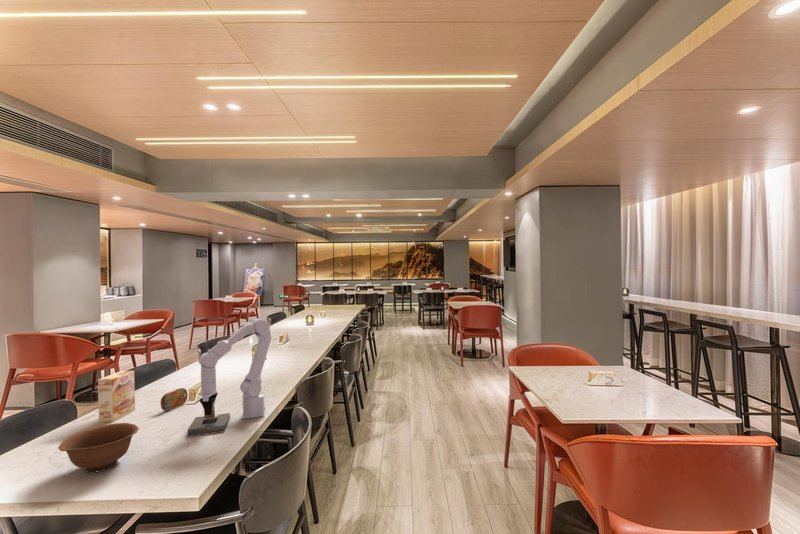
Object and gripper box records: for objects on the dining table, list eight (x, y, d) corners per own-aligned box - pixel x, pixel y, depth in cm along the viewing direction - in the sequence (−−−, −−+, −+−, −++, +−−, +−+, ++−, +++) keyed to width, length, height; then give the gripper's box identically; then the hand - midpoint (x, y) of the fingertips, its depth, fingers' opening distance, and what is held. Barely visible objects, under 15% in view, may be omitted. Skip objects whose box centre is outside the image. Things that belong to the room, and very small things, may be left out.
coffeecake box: (113, 422, 174) (112, 378, 174) (97, 422, 174) (96, 379, 174) (136, 409, 189) (135, 370, 189) (121, 410, 189) (120, 370, 189)
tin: (165, 413, 183) (164, 395, 183) (159, 413, 184) (158, 395, 184) (188, 402, 198) (187, 386, 198) (183, 402, 199) (182, 385, 199)
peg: (215, 414, 168) (215, 400, 168) (213, 418, 164) (213, 403, 164) (205, 415, 167) (205, 401, 167) (203, 419, 163) (202, 404, 163)
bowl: (43, 489, 120) (42, 454, 120) (79, 456, 141) (79, 426, 141) (125, 476, 126) (124, 443, 126) (148, 447, 148) (147, 418, 148)
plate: (230, 418, 174) (229, 412, 174) (225, 431, 160) (224, 424, 160) (195, 423, 170) (195, 416, 170) (187, 436, 157) (187, 429, 157)
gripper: (202, 377, 171) (202, 408, 171) (194, 387, 157) (195, 420, 157) (219, 376, 173) (220, 406, 173) (213, 385, 159) (214, 418, 159)
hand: (209, 413), depth 165 cm, fingers closed on peg, 4 cm apart
